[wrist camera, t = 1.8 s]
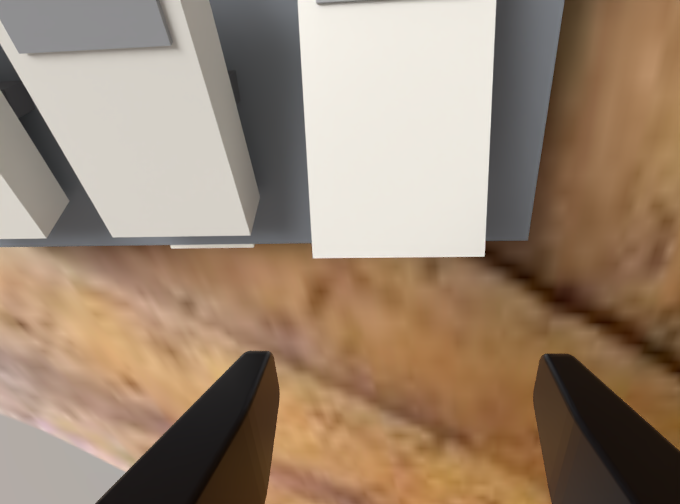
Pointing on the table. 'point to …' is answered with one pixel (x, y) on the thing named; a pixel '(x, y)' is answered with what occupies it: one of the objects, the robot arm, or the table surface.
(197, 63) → the block
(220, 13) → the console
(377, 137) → the rocker
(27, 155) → the rocker
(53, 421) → the table surface
